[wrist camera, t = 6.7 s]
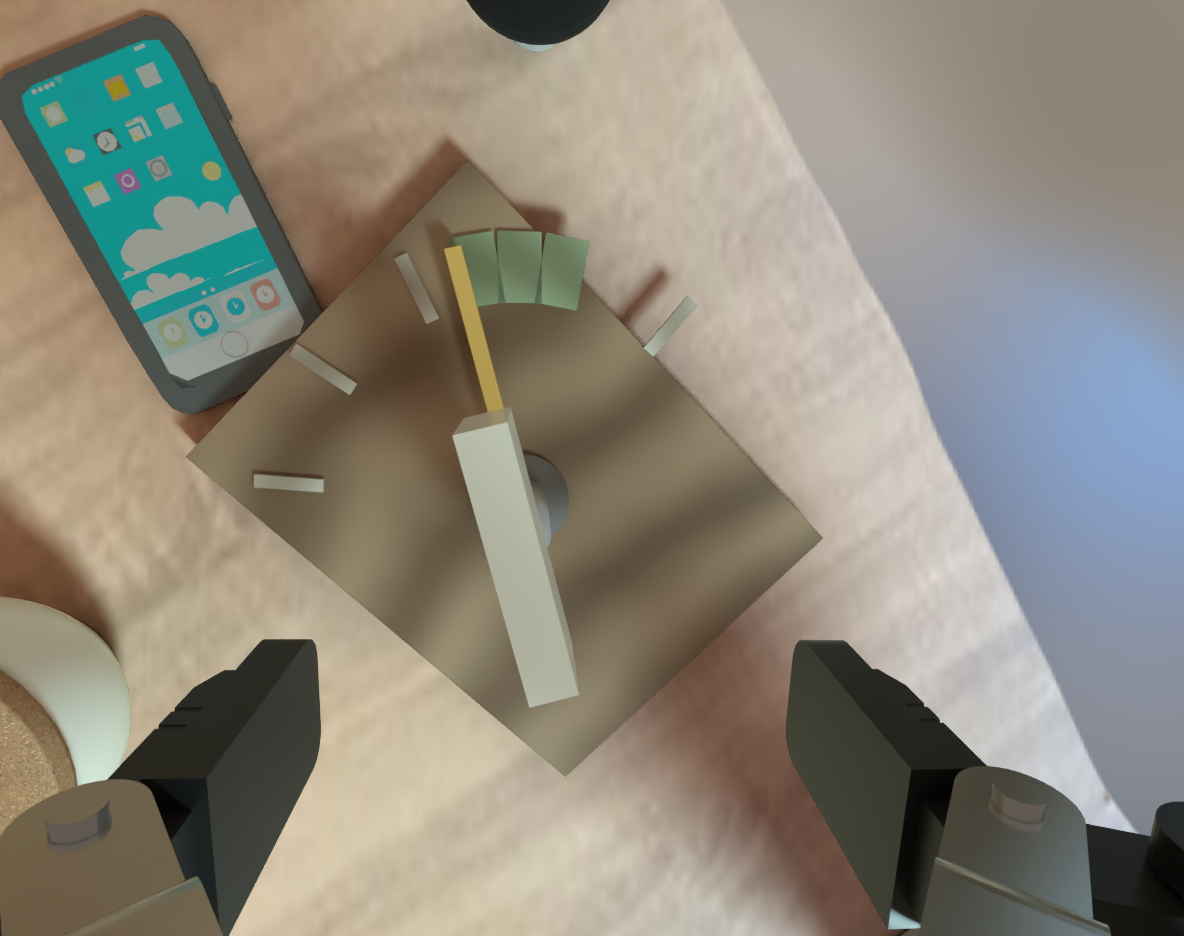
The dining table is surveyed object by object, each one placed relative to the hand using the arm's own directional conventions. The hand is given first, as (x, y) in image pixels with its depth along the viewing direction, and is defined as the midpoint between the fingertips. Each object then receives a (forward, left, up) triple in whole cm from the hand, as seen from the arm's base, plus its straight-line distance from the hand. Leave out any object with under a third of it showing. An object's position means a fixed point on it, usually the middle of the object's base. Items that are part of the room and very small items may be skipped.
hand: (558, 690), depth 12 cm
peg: (+2, +1, -20) cm, 20 cm away
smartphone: (+18, +4, -23) cm, 30 cm away
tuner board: (-1, +1, -23) cm, 23 cm away
